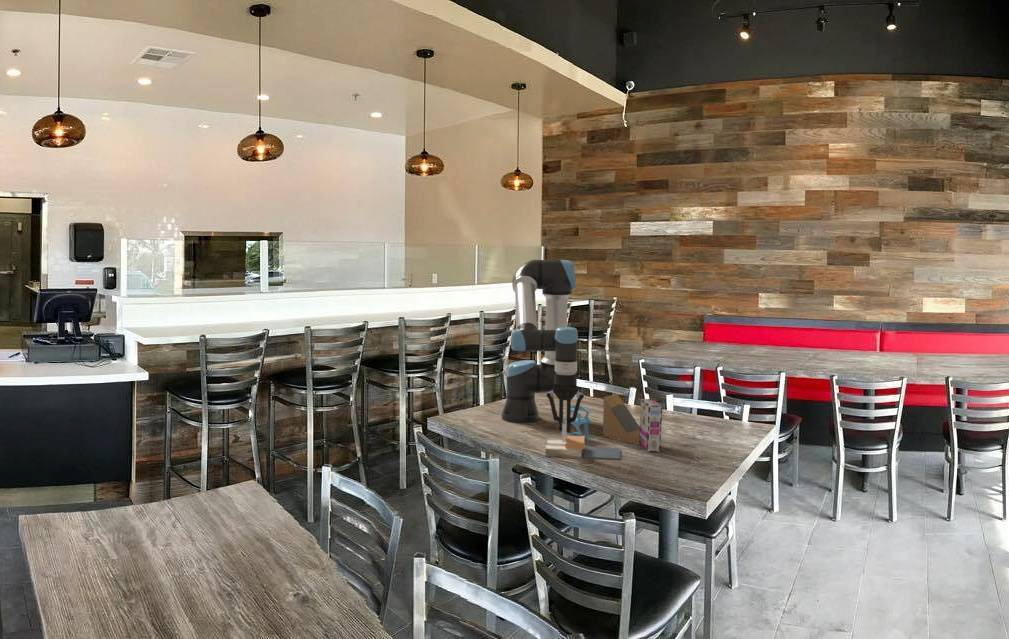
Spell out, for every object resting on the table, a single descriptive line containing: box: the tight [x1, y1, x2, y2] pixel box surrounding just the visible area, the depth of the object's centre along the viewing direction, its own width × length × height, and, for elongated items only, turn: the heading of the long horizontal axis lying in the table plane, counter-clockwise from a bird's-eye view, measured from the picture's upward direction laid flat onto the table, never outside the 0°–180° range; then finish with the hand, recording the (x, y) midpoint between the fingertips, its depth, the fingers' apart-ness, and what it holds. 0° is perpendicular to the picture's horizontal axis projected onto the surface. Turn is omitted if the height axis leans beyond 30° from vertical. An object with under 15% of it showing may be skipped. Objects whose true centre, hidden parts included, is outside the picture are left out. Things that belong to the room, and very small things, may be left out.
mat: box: [583, 445, 622, 460], centre depth 236 cm, size 12×12×1 cm
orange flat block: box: [566, 435, 585, 451], centre depth 236 cm, size 9×6×2 cm, turn 172°
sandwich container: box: [602, 393, 640, 445], centre depth 254 cm, size 9×15×15 cm, turn 44°
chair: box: [564, 404, 591, 442], centre depth 253 cm, size 8×8×12 cm
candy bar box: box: [638, 398, 663, 453], centre depth 242 cm, size 11×5×16 cm, turn 4°
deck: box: [544, 438, 583, 459], centre depth 237 cm, size 12×12×2 cm
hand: (564, 440), depth 237 cm, fingers closed
